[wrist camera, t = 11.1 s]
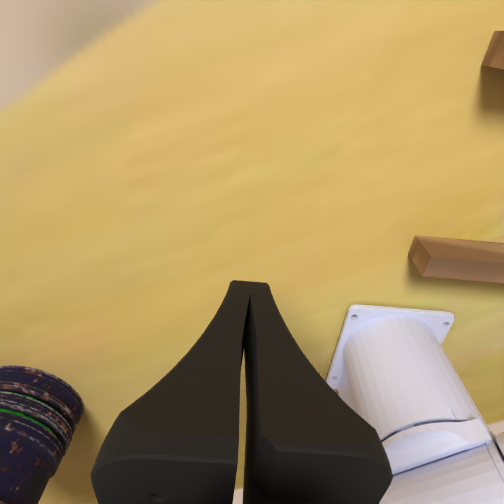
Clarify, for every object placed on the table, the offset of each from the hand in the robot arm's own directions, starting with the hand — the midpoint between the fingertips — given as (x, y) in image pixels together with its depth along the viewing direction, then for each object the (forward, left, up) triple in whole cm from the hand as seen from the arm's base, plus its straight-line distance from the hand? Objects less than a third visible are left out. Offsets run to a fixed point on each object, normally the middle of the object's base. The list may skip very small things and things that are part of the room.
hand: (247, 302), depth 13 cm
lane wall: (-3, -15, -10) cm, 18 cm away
